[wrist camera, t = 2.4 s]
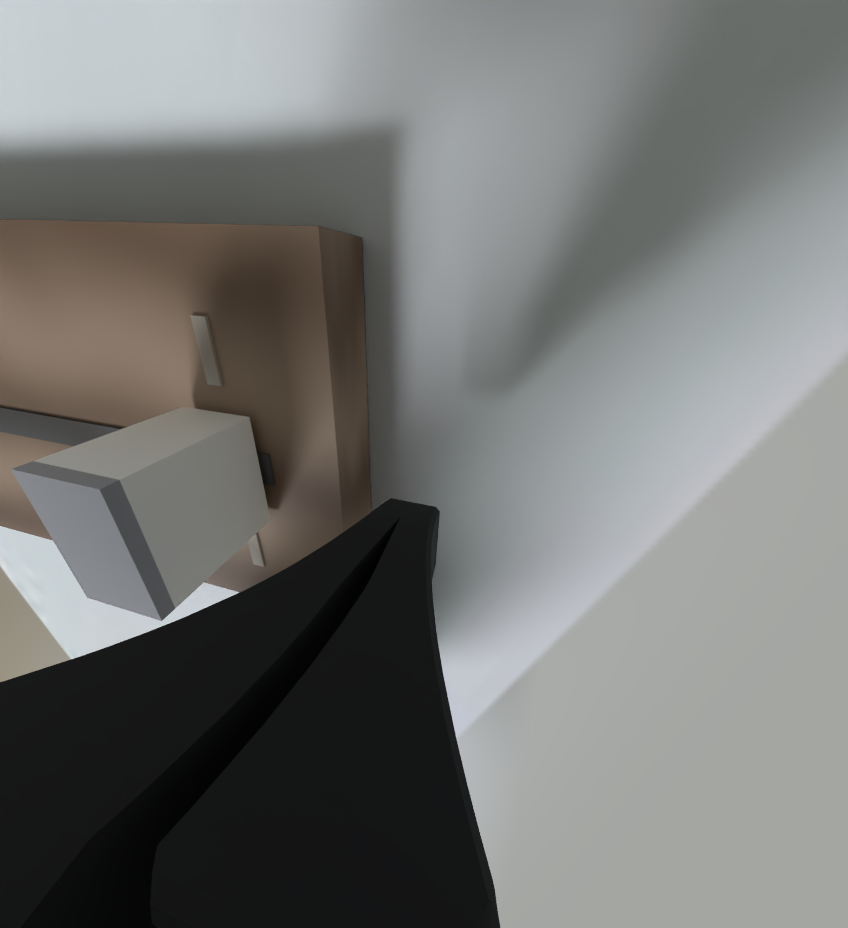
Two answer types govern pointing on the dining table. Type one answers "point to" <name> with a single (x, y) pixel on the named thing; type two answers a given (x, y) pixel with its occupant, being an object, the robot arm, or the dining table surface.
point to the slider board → (192, 359)
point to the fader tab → (151, 506)
